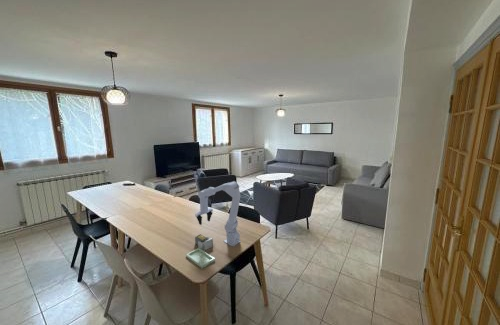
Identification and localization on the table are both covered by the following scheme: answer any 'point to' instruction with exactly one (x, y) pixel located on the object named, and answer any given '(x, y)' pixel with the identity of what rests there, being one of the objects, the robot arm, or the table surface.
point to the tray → (200, 257)
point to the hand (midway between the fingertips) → (204, 222)
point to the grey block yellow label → (200, 239)
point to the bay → (206, 244)
